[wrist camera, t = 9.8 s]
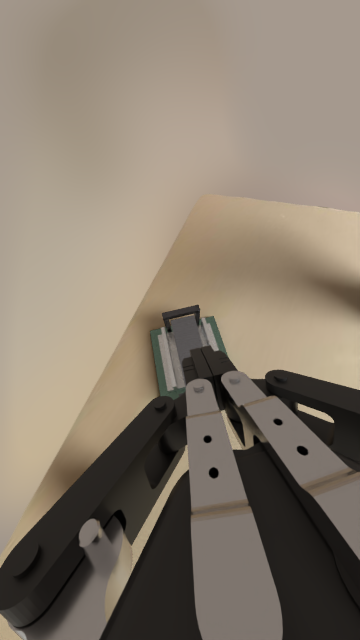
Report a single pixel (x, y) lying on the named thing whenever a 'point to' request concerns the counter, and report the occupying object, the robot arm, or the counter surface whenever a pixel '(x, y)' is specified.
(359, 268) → the counter surface
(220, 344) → the heatsink
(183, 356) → the retention strap
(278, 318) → the counter surface
